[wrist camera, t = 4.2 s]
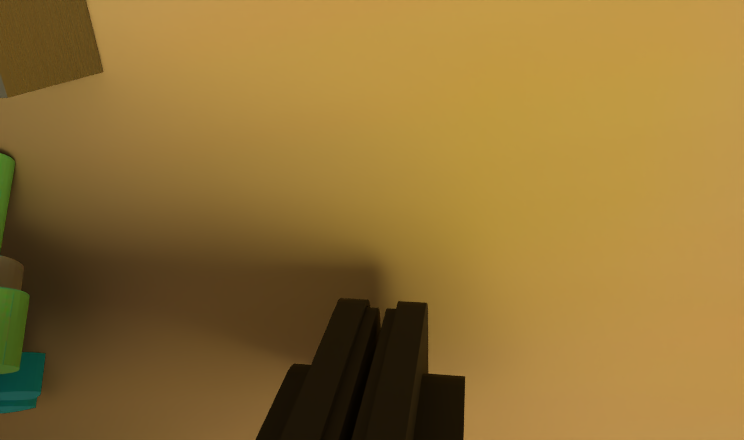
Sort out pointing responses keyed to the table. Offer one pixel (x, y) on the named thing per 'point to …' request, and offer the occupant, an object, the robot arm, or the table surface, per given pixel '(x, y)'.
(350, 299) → the robot arm
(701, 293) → the table surface
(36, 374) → the gear
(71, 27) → the rail
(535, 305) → the table surface
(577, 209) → the table surface
